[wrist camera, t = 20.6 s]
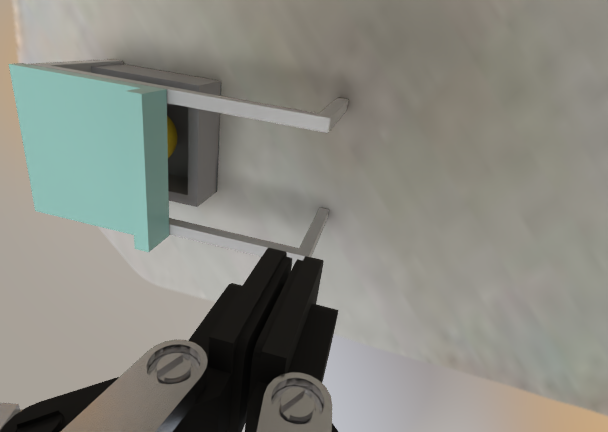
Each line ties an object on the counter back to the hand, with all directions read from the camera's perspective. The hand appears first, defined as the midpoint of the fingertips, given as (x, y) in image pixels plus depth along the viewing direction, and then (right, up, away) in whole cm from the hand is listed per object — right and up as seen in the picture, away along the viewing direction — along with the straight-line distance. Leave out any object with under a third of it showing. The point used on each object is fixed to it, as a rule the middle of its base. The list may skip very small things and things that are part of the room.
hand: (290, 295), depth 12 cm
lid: (-16, +7, +20) cm, 27 cm away
